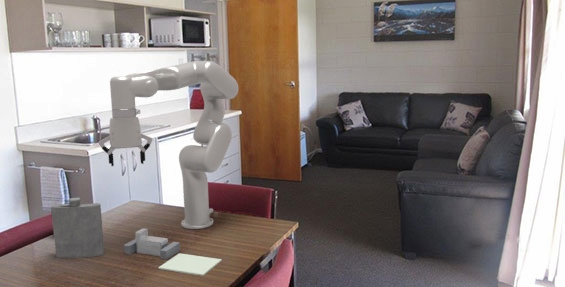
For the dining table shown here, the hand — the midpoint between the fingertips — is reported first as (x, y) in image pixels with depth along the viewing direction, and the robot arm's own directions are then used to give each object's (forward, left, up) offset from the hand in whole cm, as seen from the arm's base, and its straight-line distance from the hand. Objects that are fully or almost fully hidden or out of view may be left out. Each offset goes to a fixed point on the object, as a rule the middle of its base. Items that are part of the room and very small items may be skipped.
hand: (127, 164), depth 170 cm
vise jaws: (+1, +9, -30) cm, 31 cm away
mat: (+6, +27, -30) cm, 40 cm away
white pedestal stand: (+1, +9, -30) cm, 31 cm away
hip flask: (+11, -13, -30) cm, 35 cm away
